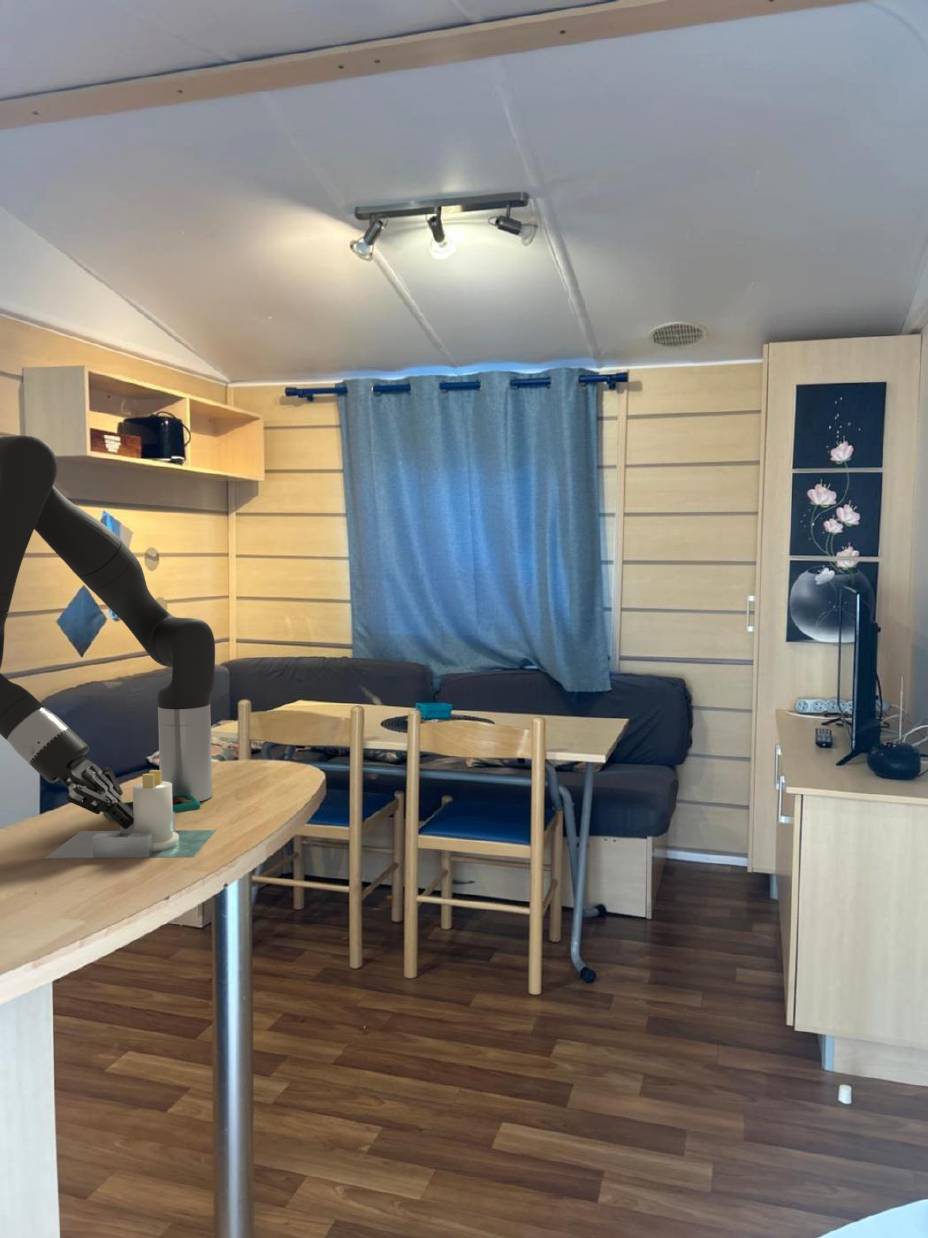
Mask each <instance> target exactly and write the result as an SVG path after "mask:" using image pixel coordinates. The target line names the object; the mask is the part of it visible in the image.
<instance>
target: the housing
mask: <svg viewBox="0 0 928 1238" xmlns="http://www.w3.org/2000/svg"><path fill="white" fill-rule="evenodd" d="M173 832H176V833H177V834H178V835H179V843H178V844H177V845H176V846H174V847H172V848H169V849H166V850H161V851H154V852H153V834H152V833H134V823H133V824H132V825H131V826H130V827H129V828H128V829H124V828H122V827H121V826H120V825H119V830H82V831H81V830H80V831H79V832H78V833H76V834H75V835H74V836H72V837H71V838H69V839H68V840H67V841H65V842H64V843H63V844H61V845H60V846H59V847H57V848H56V849H55V850H53V851H52V852H51V853H50V854H48V855H47V856H45V857H44V859H122V858H123V859H128V858H129V859H130V858H131V859H132V858H133V859H135V858H137V859H138V858H139V859H140V858H142V859H144V858H145V859H146V858H147V859H149V858H194V857H195V856H196V855H198V853H199V852H200V850H201V849H202V848H203V847H204V845H206V843H207V842H208V841H209V840H210V839H211V838H212V836H214V834H215V833H216V832H217V830H216V829H202V830H201V829H198V830H197V829H195V830H194V829H191V830H190V829H187V830H182V829H181V830H179V829H178V830H177V829H176V812H173Z"/></svg>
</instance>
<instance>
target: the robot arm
mask: <svg viewBox="0 0 928 1238" xmlns="http://www.w3.org/2000/svg"><path fill="white" fill-rule="evenodd" d="M57 475H58V460H57V457H56V454H55V452H54V451H53V449H52V448H51V446H50V445H49V444H48V443H46V442H45V441H44V440H42V439H40V438H39V437H35V436H30V435H16V436H14V435H13V436H0V670H1V669H2V665H3V660H4V659H3V657H4V650H5V649H4V647H5V629H6V628H5V627H6V626H5V625H6V621H7V618H8V615H9V613H10V607H11V603H12V600H13V595H14V591H15V588H16V583H17V580H18V576H19V572H20V568H21V565H22V563H23V560H24V557H25V554H26V551H27V548H28V546H29V543H30V540H31V538H32V536H33V533H34V531H35V532H36V533H37V534H38V535H39V536H40V537H41V538H42V540H43V541H44V542H45V543H46V544H47V545H48V546H49V547H50V548H51V550H53V552H55V554H56V555H58V558H60V559H61V560H62V561H63V562H64V563H65V564H66V565H67V567H69V569H71V571H72V572H73V573H74V575H76V576H77V577H78V578H79V579H80V580H81V581H82V583H84V584H85V586H87V587H88V588H89V590H90V591H92V592H93V593H94V594H95V595H96V596H97V597H98V598H99V599H100V600H101V602H102V603H104V605H106V607H108V609H110V611H112V612H113V613H114V614H115V615H116V616H117V617H118V618H119V619H120V621H122V622H123V623H124V625H125V626H126V627H127V629H129V631H130V632H131V633H132V635H133V636H134V637H135V639H136V640H137V641H138V642H139V645H141V646H142V648H143V650H145V653H147V654H148V655H149V657H150V658H151V659H152V660H153V661H154V662H155V663H157V664H159V665H161V666H163V667H166V668H167V667H168V668H172V675H171V681H170V684H168V686H166V687H164V688H161V689H160V690H159V691H158V692H157V718H158V719H157V721H158V752H159V753H158V757H159V758H158V759H159V770H162V781H165V782H170V783H172V796H173V795H179V794H189V795H191V796H193V797H194V798H196V799H197V800H198V801H199V802H203V801H206V800H209V799H210V798H212V797H213V762H212V761H213V760H212V754H213V753H212V723H211V722H212V721H211V719H212V718H211V695H212V693H213V689H214V685H215V677H216V676H215V674H216V673H215V671H216V641H215V636H214V632H213V630H212V628H211V626H210V625H209V624H208V623H207V622H205V621H204V620H202V619H199V618H195V617H193V618H192V617H176V616H174V615H173V614H171V613H170V612H169V611H167V610H166V609H165V608H164V606H163V605H161V604H160V603H159V602H158V600H156V598H154V596H153V594H151V592H150V590H149V588H148V585H147V581H146V578H145V573H144V570H143V567H142V565H141V562H140V561H139V560H138V558H137V557H136V556H135V553H133V552H132V550H131V549H130V548H129V547H128V546H127V545H126V544H125V543H124V541H123V540H122V539H121V538H120V537H119V536H118V534H116V533H115V532H114V531H113V530H112V529H111V528H109V527H108V526H107V525H106V524H104V523H103V522H101V520H98V519H97V518H95V517H94V516H92V515H91V514H90V513H88V512H86V511H85V510H83V509H82V508H80V507H78V506H77V505H75V504H74V503H73V502H72V501H70V500H69V499H68V498H67V497H65V496H64V495H63V494H62V493H61V492H60V491H59V490H58V488H56V486H55V481H56V478H57ZM0 736H2V738H4V739H5V740H6V741H7V742H8V743H9V745H10V746H11V747H12V748H13V749H14V750H15V752H16V754H18V755H19V756H20V757H21V758H22V759H23V760H24V761H25V762H26V763H27V764H29V765H30V766H31V768H33V770H35V771H36V772H37V773H38V774H39V775H40V776H42V778H43V779H44V780H45V781H47V782H48V783H49V784H54V783H56V782H58V781H60V782H62V783H61V784H63V786H64V787H65V788H66V789H68V793H67V795H66V796H65V800H66V801H68V802H69V803H71V804H73V805H75V806H77V807H80V808H82V809H85V810H87V811H89V812H91V813H93V814H96V815H99V814H101V813H103V814H104V815H107V813H108V814H109V815H110V816H111V817H112V818H113V819H114V820H115V821H116V822H115V821H114V820H113V821H114V822H115V823H117V824H118V825H119V827H120V826H121V827H122V828H124V829H128V828H129V827H130V826H131V825H132V824H133V823H134V813H133V811H131V810H130V809H129V808H128V807H127V806H126V805H125V804H124V803H125V802H124V801H122V795H123V794H124V792H123V789H122V787H121V786H120V783H119V781H118V779H117V778H116V776H115V774H114V772H113V770H112V769H111V768H110V767H108V766H106V767H105V768H104V769H102V768H100V767H99V766H98V765H97V764H95V763H94V762H92V761H91V760H90V759H88V758H87V757H86V756H87V754H88V753H89V751H90V746H89V745H88V744H87V743H86V742H85V741H84V740H83V739H82V738H81V737H80V736H79V735H78V734H77V733H75V731H73V730H72V729H71V728H70V727H69V726H68V725H67V724H66V723H65V722H64V721H63V720H62V719H61V718H60V717H58V716H57V715H56V714H55V713H53V712H52V711H51V710H50V709H48V708H46V707H45V706H44V704H42V703H41V702H40V701H39V700H38V699H37V698H36V697H35V696H34V695H33V694H32V693H31V692H30V691H29V690H27V689H26V688H25V687H23V686H21V685H19V684H17V683H14V682H12V681H10V680H9V679H8V678H6V676H5V675H4V674H2V673H1V672H0Z"/></svg>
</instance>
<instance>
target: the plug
mask: <svg viewBox="0 0 928 1238" xmlns="http://www.w3.org/2000/svg"><path fill="white" fill-rule="evenodd" d="M141 777H142V782H140V783H136V784H134V785H133V786H132V802H133V813H134V833H152V834H153V852H154V851H161V850H166V849H169V848H172V847H174V846H176V845H177V844H178V843H179V835H178V834H177V833H176V832H173V805H172V783H170V782H165V781H162V770H160V769H159V770H158V769H150V770H149V773H143V774H142V776H141Z"/></svg>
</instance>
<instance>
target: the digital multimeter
mask: <svg viewBox="0 0 928 1238" xmlns="http://www.w3.org/2000/svg"><path fill="white" fill-rule="evenodd" d="M200 802H201V801H198V800H197V799H196V798H194V797H193V796H191V795H189V794H179V795H173V796H172V805H173V812H175V813H181V812H187V811H188V812H189V811H194V810H199V809H201V803H200ZM123 803H124V804H125V805H126V806H127V807H128V808H129V809H130V810H131V811H133V801H128V802H123ZM106 815H107V817H108V818H109V819H110V820H112V821H114V822H115V823H117V822H116V821H115V820H114V819H113V818H112V817H111V816H110V815H109V814H108V813H107V814H106Z"/></svg>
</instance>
